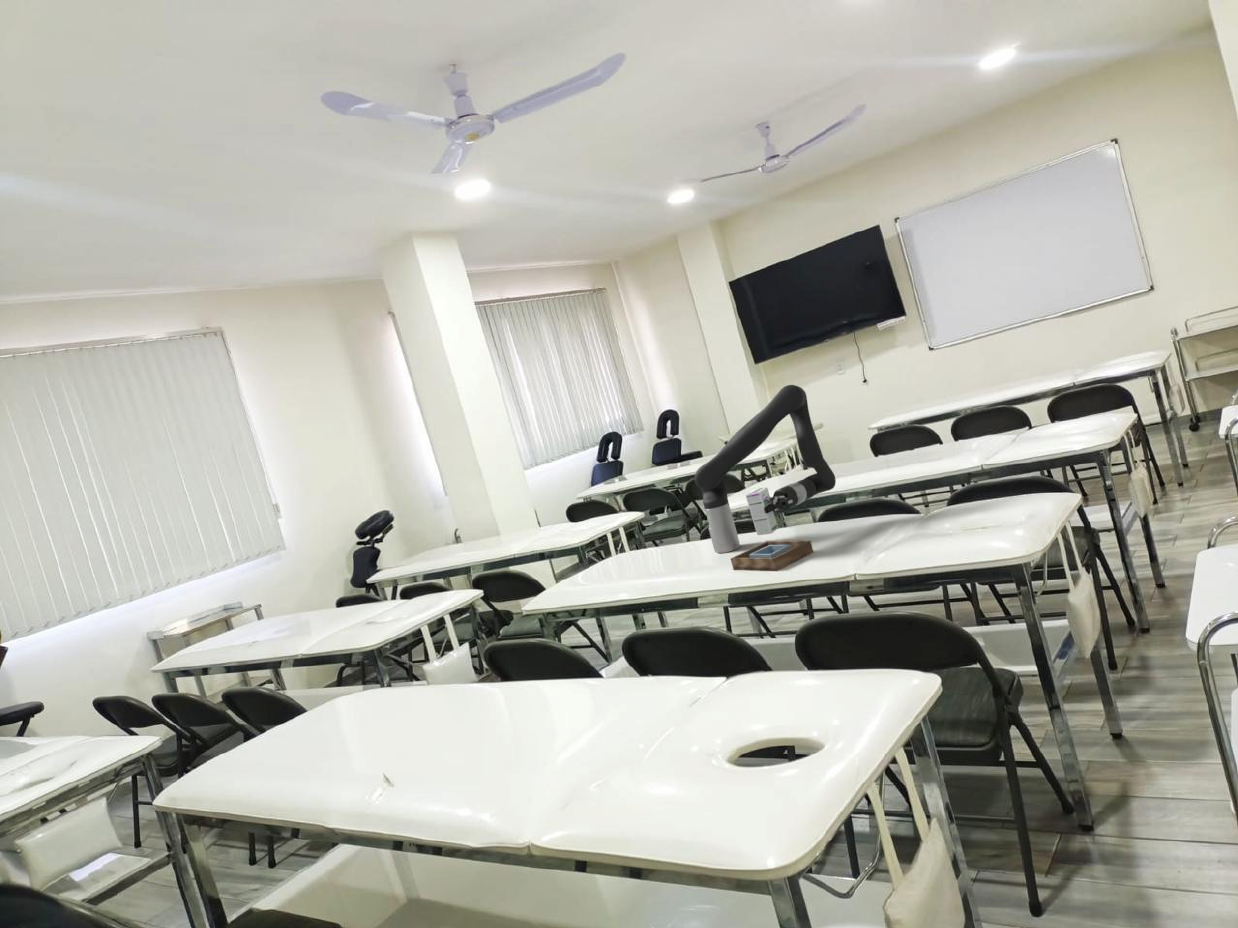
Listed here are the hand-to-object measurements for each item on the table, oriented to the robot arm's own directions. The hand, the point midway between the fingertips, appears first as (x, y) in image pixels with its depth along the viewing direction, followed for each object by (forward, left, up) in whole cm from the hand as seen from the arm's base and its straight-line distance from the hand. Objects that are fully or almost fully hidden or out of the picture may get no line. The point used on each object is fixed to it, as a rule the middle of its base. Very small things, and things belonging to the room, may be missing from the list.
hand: (757, 511), depth 268 cm
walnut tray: (0, +1, -18) cm, 18 cm away
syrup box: (0, +2, -8) cm, 8 cm away
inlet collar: (0, +1, -18) cm, 18 cm away
